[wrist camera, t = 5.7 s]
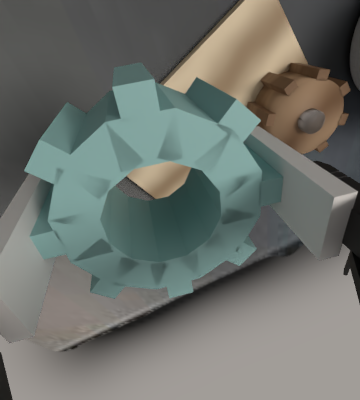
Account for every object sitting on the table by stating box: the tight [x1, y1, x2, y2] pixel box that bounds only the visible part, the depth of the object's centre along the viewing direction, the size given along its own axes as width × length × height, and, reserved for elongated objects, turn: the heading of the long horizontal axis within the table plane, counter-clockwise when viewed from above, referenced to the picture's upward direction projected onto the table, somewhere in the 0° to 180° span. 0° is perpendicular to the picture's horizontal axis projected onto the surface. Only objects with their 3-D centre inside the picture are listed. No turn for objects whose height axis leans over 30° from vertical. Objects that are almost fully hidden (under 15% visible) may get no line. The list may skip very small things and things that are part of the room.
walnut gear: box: [247, 63, 351, 154], centre depth 29 cm, size 10×10×6 cm
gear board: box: [127, 0, 324, 199], centre depth 30 cm, size 20×24×8 cm
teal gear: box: [24, 63, 283, 299], centre depth 12 cm, size 10×10×5 cm
